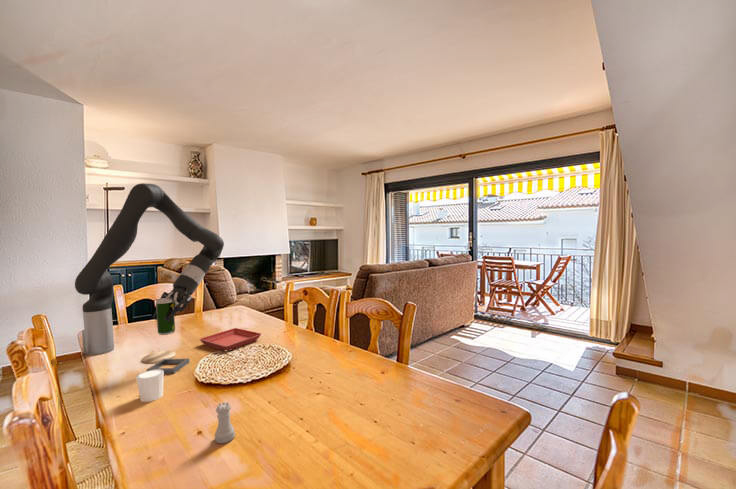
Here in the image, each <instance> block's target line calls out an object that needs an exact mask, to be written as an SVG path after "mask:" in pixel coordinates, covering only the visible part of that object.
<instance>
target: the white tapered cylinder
mask: <svg viewBox="0 0 736 489" xmlns="http://www.w3.org/2000/svg"><path fill="white" fill-rule="evenodd" d="M164 375H165V374H164V371H163V370H161V369H155V370H149V371H147V370H146V371H143V372H141V373H139V374H137V375H136V377H135V378H136V382H137V383H136V385H137V388H138V394H139V399H140V402H142V403H148V402H154V401H156V400H159V399H161V397H163V396H164V378H165V377H164Z"/></svg>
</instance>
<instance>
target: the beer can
mask: <svg viewBox="0 0 736 489" xmlns="http://www.w3.org/2000/svg"><path fill="white" fill-rule="evenodd" d="M160 298H161V297H160ZM160 298H158V299H156V302H155V310H156V311H155V313H156V314H157V320H156V330H157V333H158V335H159V336H167V335H171V334H174V333H175V332H176V323H175V322H176V321H175V316H174V317H173V318H172V319H171V321H170V322H167V321H166V320H164V317H165V316H166V315H167V313H168V312H169V310H172V309H171V308H172V305H173V298H161V299H160Z"/></svg>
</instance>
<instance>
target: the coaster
mask: <svg viewBox="0 0 736 489" xmlns="http://www.w3.org/2000/svg"><path fill="white" fill-rule="evenodd" d="M176 356H177V354H176V351H172V350H163V351H157V352H153V353H149V354H148V355H147V354H146V356H143V357H142V359H141V362H142V363H144V364H156V363H158V362H160V361H161V360H163V359H174V358H175V357H176Z"/></svg>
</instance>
